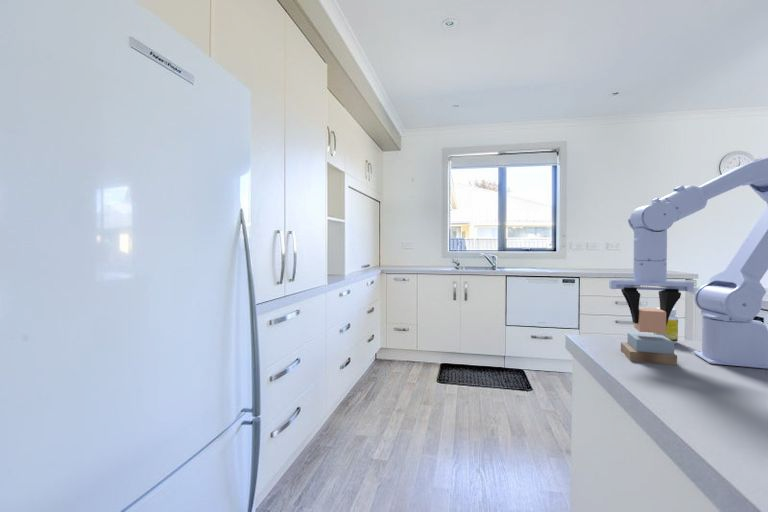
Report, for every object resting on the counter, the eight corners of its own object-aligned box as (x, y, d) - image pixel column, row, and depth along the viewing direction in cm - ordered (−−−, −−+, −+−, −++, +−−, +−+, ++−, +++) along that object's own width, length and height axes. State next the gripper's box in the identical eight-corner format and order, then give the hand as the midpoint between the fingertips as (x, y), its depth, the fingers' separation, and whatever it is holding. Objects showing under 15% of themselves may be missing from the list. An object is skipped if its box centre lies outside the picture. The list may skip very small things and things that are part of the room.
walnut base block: (662, 356, 79) (663, 345, 79) (677, 367, 71) (677, 355, 71) (620, 352, 82) (620, 342, 82) (629, 363, 74) (630, 351, 74)
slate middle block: (662, 346, 78) (662, 335, 78) (674, 354, 72) (674, 342, 72) (627, 343, 81) (627, 332, 80) (636, 351, 74) (636, 339, 74)
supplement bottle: (682, 344, 86) (682, 310, 86) (660, 343, 87) (660, 309, 87) (670, 339, 91) (670, 307, 91) (649, 338, 92) (650, 306, 92)
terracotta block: (658, 329, 77) (658, 308, 77) (666, 333, 73) (666, 312, 73) (634, 327, 79) (634, 307, 79) (640, 331, 75) (640, 310, 75)
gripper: (614, 261, 75) (614, 324, 75) (700, 261, 70) (699, 330, 70) (607, 259, 82) (607, 318, 82) (685, 260, 76) (685, 323, 76)
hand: (649, 323), depth 76 cm, fingers closed on terracotta block, 4 cm apart
